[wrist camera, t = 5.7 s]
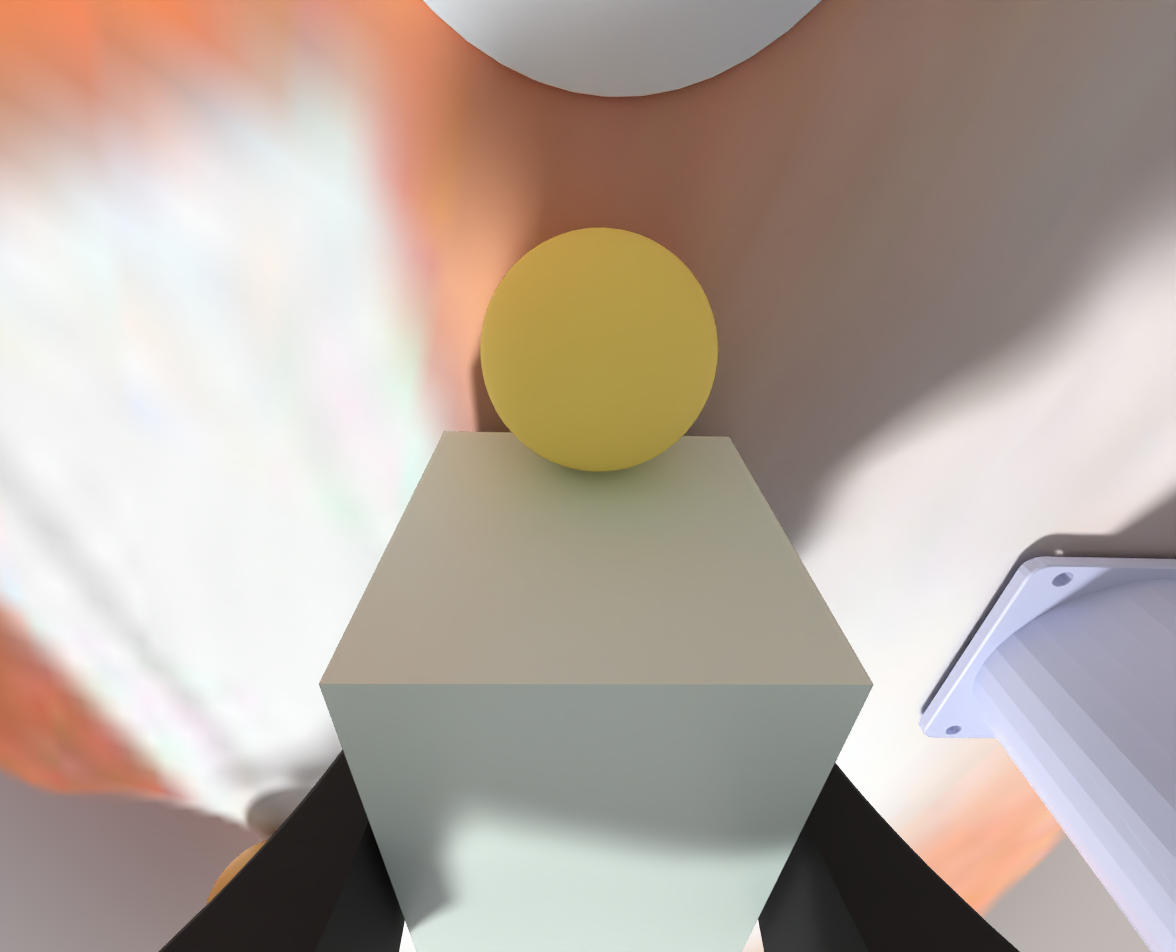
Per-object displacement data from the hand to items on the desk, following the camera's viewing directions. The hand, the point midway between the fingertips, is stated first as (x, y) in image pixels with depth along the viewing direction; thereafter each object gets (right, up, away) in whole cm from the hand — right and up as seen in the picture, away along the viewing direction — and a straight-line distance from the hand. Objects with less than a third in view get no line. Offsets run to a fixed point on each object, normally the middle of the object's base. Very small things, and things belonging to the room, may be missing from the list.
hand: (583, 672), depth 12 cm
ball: (0, +7, -3) cm, 7 cm away
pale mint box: (0, +1, +2) cm, 2 cm away
